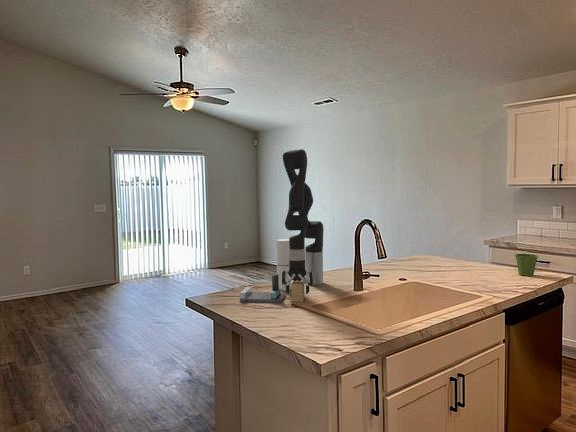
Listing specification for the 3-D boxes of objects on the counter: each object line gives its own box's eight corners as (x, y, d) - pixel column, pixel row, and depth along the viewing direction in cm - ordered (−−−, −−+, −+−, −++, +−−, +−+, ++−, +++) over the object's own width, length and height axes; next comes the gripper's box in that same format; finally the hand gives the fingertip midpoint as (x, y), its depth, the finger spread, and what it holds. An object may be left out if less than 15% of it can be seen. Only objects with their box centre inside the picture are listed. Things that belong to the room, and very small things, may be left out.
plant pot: (543, 276, 238) (543, 255, 237) (527, 278, 233) (528, 257, 232) (524, 272, 249) (524, 252, 248) (509, 274, 244) (509, 254, 243)
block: (294, 297, 203) (293, 280, 202) (304, 297, 202) (304, 280, 202) (291, 301, 196) (291, 284, 195) (302, 302, 195) (302, 284, 194)
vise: (246, 295, 209) (246, 286, 209) (285, 295, 206) (285, 287, 206) (239, 301, 197) (239, 293, 197) (280, 302, 194) (280, 294, 194)
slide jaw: (274, 292, 206) (274, 272, 206) (281, 292, 206) (280, 272, 205) (270, 298, 195) (269, 277, 195) (276, 298, 195) (276, 277, 194)
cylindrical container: (279, 290, 216) (278, 241, 214) (275, 287, 223) (274, 239, 221) (293, 289, 218) (292, 240, 216) (289, 286, 225) (288, 238, 223)
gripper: (313, 257, 200) (314, 292, 201) (283, 257, 202) (283, 291, 204) (311, 260, 193) (312, 296, 194) (280, 259, 195) (280, 295, 196)
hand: (297, 293), depth 199 cm, fingers open, 8 cm apart
